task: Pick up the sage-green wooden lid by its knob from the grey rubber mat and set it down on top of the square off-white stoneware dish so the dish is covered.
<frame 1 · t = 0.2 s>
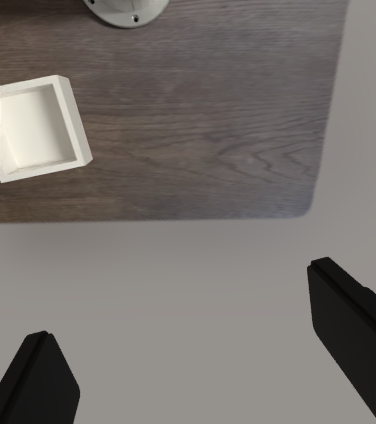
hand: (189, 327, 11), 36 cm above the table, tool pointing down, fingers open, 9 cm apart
dish: (42, 128, 42), on the table
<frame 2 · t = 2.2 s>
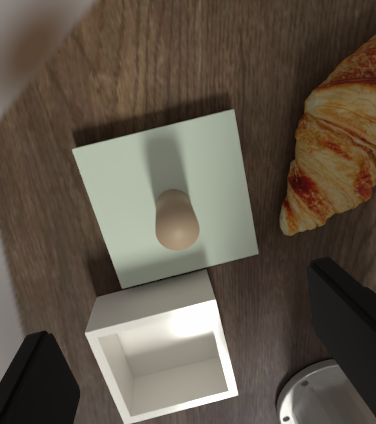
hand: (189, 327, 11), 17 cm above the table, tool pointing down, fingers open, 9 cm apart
dish: (165, 327, 31), on the table
lid: (172, 202, 26), resting on mat
croissant: (340, 125, 26), on the table
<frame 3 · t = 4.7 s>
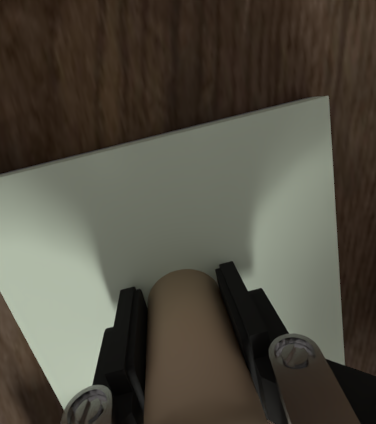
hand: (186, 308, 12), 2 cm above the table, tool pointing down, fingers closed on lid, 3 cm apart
lid: (182, 287, 13), resting on mat, touching gripper
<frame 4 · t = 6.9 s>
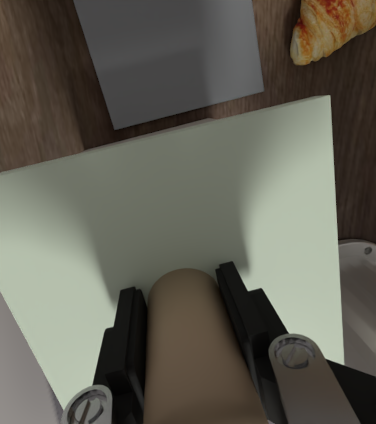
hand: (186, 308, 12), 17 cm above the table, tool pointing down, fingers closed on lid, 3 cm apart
mat: (169, 24, 23), on the table
dish: (163, 193, 28), on the table
lid: (182, 286, 13), point 16 cm above the table, touching gripper
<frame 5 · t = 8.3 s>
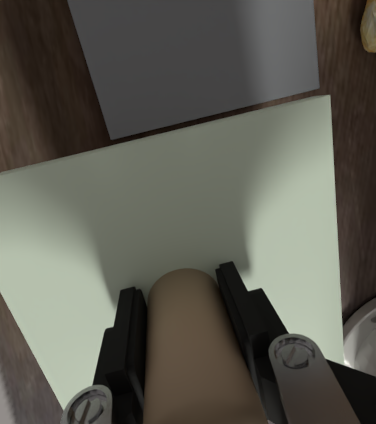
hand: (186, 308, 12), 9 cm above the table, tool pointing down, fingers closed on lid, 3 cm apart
lid: (182, 287, 13), point 8 cm above the table, touching gripper
when the fingers open (8 cm above the table, at t = 9.2 s): lid drops 1 cm, resting on dish.
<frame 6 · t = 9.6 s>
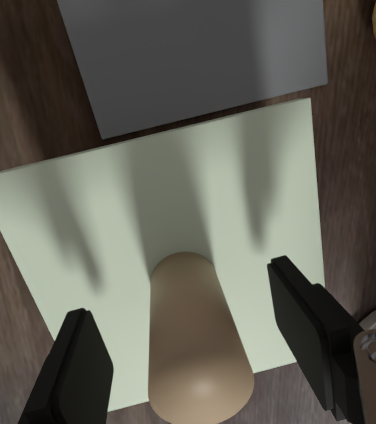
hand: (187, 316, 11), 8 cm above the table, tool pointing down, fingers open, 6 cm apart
lid: (182, 270, 14), point 5 cm above the table, touching dish
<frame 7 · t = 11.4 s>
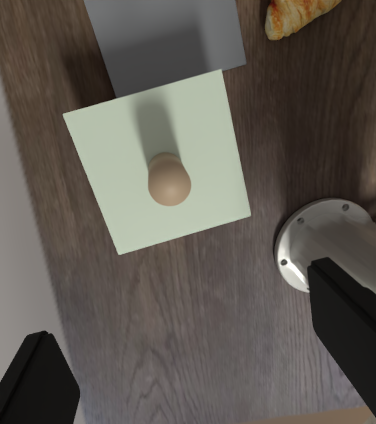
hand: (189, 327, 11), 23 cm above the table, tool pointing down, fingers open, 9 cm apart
mat: (162, 7, 27), on the table
lid: (165, 167, 27), point 5 cm above the table, touching dish
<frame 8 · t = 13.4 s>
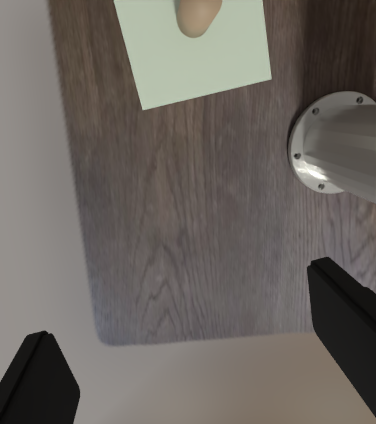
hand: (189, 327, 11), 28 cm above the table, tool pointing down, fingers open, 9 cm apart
lid: (191, 22, 28), point 5 cm above the table, touching dish
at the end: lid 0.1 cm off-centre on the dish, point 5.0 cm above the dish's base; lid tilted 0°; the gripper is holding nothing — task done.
